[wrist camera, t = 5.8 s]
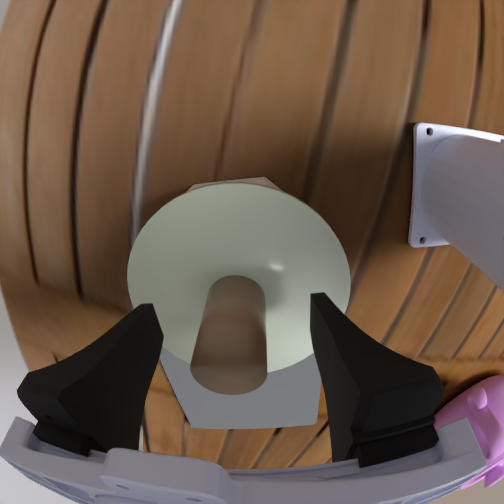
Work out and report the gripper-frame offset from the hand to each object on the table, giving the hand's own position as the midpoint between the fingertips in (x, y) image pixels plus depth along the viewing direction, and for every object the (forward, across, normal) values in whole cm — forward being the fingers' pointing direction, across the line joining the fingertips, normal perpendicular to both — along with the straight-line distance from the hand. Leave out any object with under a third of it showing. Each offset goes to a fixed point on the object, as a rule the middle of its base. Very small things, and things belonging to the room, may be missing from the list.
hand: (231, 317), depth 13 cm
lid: (+3, 0, +1) cm, 3 cm away
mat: (+6, +1, +13) cm, 14 cm away
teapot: (+6, -30, +25) cm, 40 cm away
